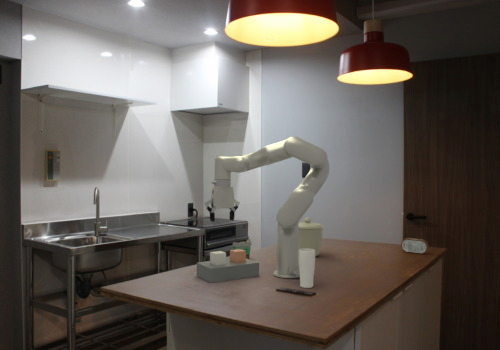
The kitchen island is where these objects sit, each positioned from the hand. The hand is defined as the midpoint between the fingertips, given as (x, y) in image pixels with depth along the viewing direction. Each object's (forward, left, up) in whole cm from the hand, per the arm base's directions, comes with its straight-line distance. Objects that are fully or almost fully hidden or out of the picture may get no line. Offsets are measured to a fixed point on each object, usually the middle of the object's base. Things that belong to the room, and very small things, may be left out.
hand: (222, 220), depth 204 cm
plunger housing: (-7, 0, -24) cm, 25 cm away
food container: (+19, -24, -24) cm, 39 cm away
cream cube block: (-7, +5, -19) cm, 20 cm away
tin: (-11, -120, -24) cm, 122 cm away
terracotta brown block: (-7, -5, -18) cm, 20 cm away
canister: (+13, -61, -24) cm, 67 cm away
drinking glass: (-39, -19, -24) cm, 49 cm away
